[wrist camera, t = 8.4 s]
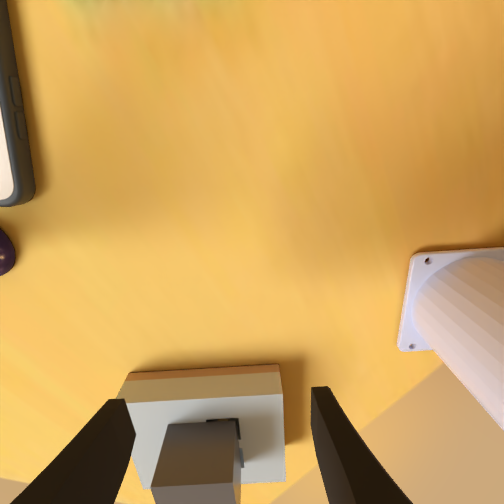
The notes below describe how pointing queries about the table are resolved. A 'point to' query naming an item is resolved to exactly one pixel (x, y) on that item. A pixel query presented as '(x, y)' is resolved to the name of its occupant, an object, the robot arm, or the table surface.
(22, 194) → the phone case
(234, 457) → the plug
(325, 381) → the table surface
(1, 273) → the toy lamp
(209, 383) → the socket
